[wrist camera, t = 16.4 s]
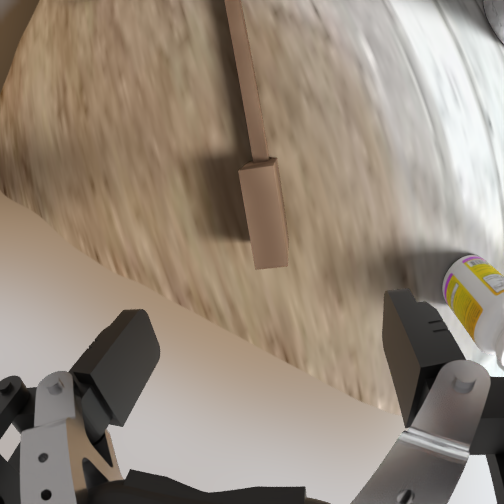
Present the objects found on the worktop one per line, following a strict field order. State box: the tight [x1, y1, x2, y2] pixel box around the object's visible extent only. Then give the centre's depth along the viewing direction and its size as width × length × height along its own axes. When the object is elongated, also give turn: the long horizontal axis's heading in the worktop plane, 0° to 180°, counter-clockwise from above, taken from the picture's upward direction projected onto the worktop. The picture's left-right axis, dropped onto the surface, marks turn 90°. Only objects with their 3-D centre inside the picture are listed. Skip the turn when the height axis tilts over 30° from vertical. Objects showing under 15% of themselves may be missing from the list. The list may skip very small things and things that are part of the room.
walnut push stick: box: [224, 0, 289, 270], centre depth 23 cm, size 7×29×6 cm, turn 10°
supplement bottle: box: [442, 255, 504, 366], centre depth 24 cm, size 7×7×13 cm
